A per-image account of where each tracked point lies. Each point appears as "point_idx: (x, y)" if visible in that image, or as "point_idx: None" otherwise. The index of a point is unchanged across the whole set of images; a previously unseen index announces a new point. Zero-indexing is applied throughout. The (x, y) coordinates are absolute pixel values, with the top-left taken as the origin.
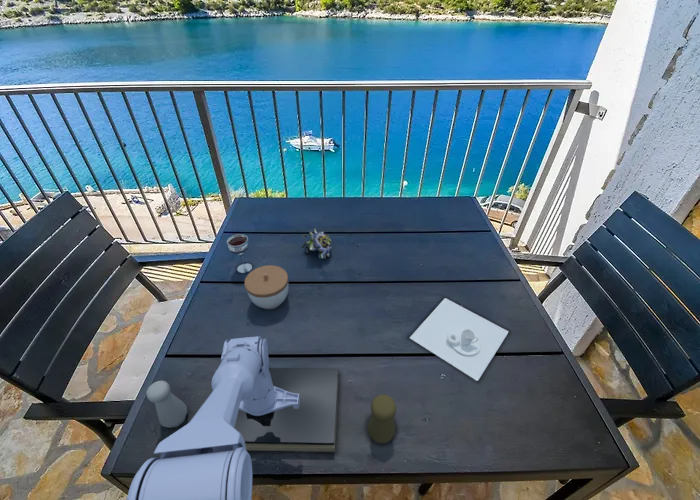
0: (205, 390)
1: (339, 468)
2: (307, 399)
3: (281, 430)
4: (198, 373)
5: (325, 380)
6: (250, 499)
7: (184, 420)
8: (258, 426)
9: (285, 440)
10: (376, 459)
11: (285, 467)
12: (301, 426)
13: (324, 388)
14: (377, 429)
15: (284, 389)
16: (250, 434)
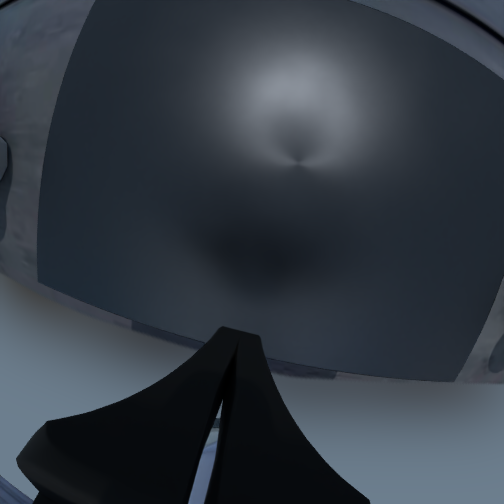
0: (39, 72)
1: (422, 382)
2: (434, 194)
3: (297, 320)
4: (31, 28)
5: (499, 128)
6: None
7: (4, 167)
8: (190, 276)
9: (308, 360)
10: (490, 368)
11: (288, 364)
12: (384, 318)
13: (495, 164)
14: None
15: (329, 98)
16: (160, 302)
